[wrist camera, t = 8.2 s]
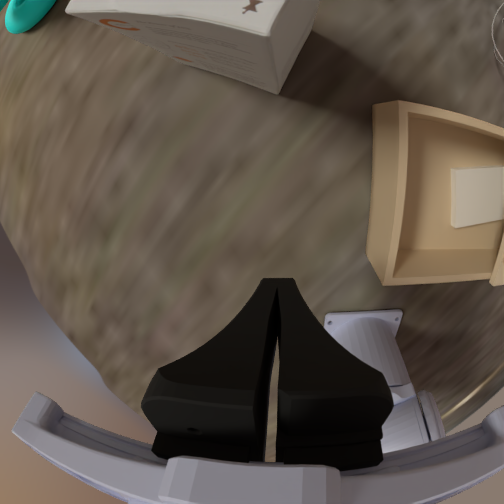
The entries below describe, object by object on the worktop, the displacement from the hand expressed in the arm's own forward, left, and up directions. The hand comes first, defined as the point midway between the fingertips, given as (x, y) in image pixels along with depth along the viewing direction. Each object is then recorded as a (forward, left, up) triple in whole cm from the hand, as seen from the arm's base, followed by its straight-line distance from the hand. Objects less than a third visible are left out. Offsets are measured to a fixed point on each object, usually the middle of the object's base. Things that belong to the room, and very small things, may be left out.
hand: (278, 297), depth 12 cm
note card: (+3, -18, -10) cm, 21 cm away
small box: (+14, +2, -11) cm, 18 cm away
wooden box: (+3, -16, -10) cm, 19 cm away
